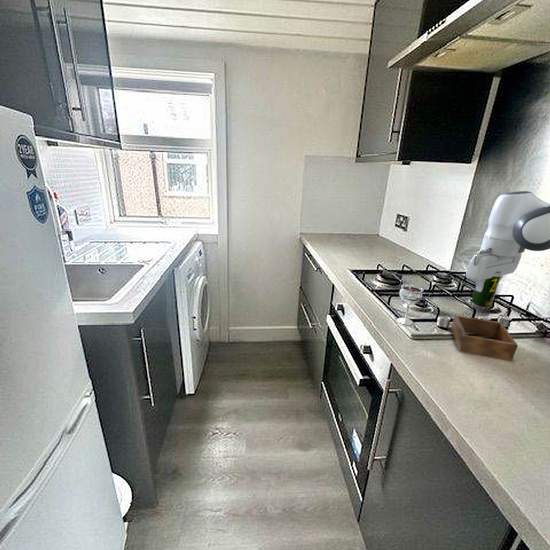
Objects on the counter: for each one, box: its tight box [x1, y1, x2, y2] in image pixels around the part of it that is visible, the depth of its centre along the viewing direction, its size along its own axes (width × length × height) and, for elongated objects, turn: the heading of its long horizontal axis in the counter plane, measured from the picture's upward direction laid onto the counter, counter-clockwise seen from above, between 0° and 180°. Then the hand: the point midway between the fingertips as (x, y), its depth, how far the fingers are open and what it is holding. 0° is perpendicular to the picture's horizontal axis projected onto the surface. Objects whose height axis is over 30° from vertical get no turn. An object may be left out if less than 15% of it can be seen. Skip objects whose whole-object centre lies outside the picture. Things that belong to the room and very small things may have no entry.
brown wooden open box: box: [450, 314, 518, 362], centre depth 88 cm, size 13×13×5 cm
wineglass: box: [396, 283, 424, 326], centre depth 97 cm, size 7×7×12 cm
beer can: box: [471, 272, 501, 310], centre depth 95 cm, size 5×5×12 cm
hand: (485, 289), depth 95 cm, fingers closed on beer can, 5 cm apart
